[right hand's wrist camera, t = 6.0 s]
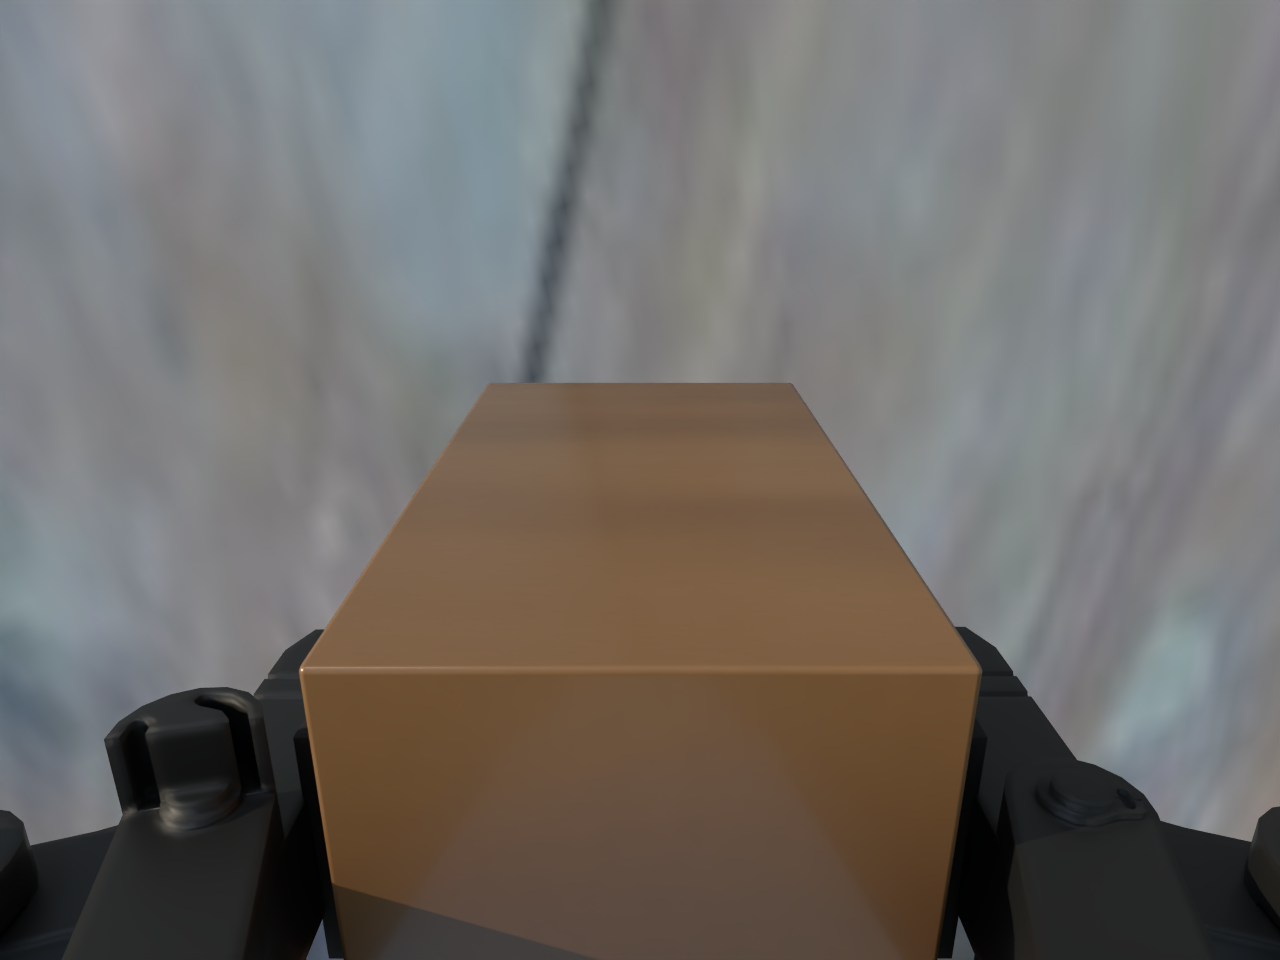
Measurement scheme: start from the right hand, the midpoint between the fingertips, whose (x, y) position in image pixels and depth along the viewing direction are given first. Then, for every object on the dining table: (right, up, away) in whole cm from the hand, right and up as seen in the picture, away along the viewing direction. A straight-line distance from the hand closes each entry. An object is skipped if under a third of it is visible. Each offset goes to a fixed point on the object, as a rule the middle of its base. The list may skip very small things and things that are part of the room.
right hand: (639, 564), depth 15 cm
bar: (0, -9, +4) cm, 10 cm away
